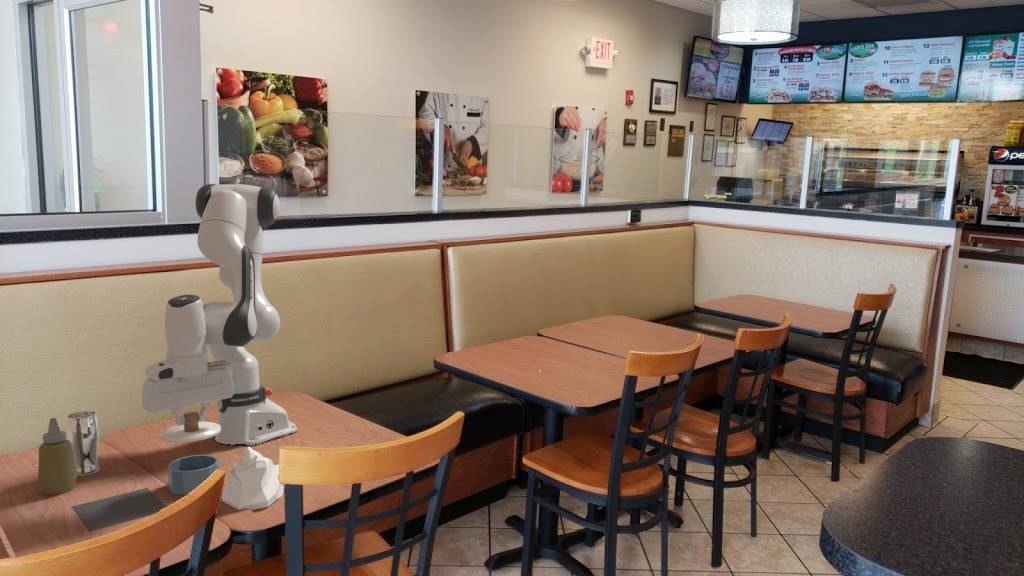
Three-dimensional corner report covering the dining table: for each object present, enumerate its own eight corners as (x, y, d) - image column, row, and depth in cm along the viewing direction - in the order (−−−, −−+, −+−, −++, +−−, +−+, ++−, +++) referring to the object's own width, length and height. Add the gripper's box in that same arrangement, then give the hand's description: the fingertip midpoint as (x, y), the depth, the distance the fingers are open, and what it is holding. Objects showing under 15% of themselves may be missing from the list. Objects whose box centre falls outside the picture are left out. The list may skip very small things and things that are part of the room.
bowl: (210, 476, 194) (208, 451, 193) (226, 489, 186) (225, 463, 185) (163, 487, 187) (162, 462, 186) (179, 502, 179) (177, 475, 178)
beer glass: (88, 478, 193) (83, 419, 191) (64, 475, 194) (59, 417, 192) (108, 467, 200) (103, 411, 198) (84, 465, 201) (79, 409, 199)
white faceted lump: (293, 510, 178) (286, 459, 172) (223, 526, 173) (214, 473, 167) (286, 478, 189) (280, 428, 183) (221, 491, 184) (212, 441, 178)
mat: (147, 491, 185) (147, 487, 185) (169, 512, 173) (169, 509, 173) (72, 509, 175) (71, 506, 175) (90, 534, 163) (89, 530, 163)
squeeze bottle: (50, 486, 188) (43, 414, 185) (85, 484, 189) (78, 413, 186) (32, 499, 180) (25, 424, 178) (69, 498, 181) (62, 423, 178)
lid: (209, 421, 193) (208, 402, 193) (229, 434, 184) (228, 414, 183) (154, 432, 185) (152, 412, 184) (172, 446, 175) (171, 425, 174)
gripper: (226, 356, 191) (229, 411, 193) (137, 369, 178) (141, 428, 180) (236, 361, 186) (239, 417, 188) (146, 374, 173) (150, 435, 175)
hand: (191, 422), depth 184 cm, fingers closed on lid, 3 cm apart
